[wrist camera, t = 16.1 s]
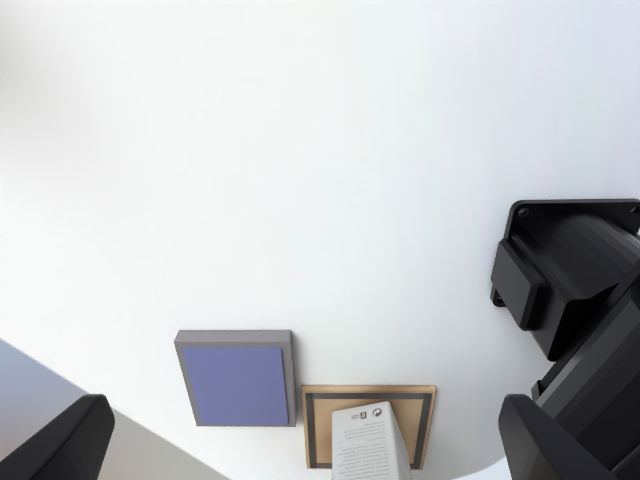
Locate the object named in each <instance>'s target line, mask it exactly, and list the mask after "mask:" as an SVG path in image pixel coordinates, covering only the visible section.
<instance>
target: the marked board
mask: <svg viewBox="0 0 640 480" xmlns="http://www.w3.org/2000/svg"><path fill="white" fill-rule="evenodd" d="M435 393H436V389H435V386H302V403H303V418H304V433H305V447H306V462H307V469H332V413H333V412H334V411H337V410H343V409H348V408H354V407H359V406H364V405H369V404H374V403H379V402H385V401H388V402H390V404H391V407H392V410H393V413H394V415H395V418H396V421H397V424H398V426H399V429H400V432H401V435H402V437H403V440H404V443H405V445H406V448H407V452H408V458H409V464H410V470H422V469H423V463H424V457H425V451H426V445H427V440H428V434H429V428H430V422H431V416H432V411H433V405H434V399H435Z"/></svg>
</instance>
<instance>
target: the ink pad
mask: <svg viewBox="0 0 640 480" xmlns="http://www.w3.org/2000/svg"><path fill="white" fill-rule="evenodd" d="M174 344H175V348H176V351H177V355H178V359H179V362H180V366H181V370H182V373H183V377H184V381H185V384H186V388H187V392H188V395H189V399H190V403H191V406H192V410H193V414H194V417H195V421H196V425H197V426H264V427H296V420H297V408H296V396H295V383H294V371H293V358H292V345H291V333H290V330H179V332H178V334H177V336H176V338H175V341H174Z"/></svg>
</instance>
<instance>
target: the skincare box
mask: <svg viewBox="0 0 640 480" xmlns="http://www.w3.org/2000/svg"><path fill="white" fill-rule="evenodd" d="M332 480H412V477H411V470H410V464H409V458H408V452H407V448H406V445H405V443H404V440H403V437H402V435H401V432H400V429H399V426H398V424H397V421H396V418H395V415H394V413H393V410H392V407H391V404H390V402H388V401H385V402H379V403H374V404H369V405H364V406H359V407H354V408H348V409H343V410H337V411H334V412H333V413H332Z"/></svg>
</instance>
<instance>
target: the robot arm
mask: <svg viewBox="0 0 640 480" xmlns="http://www.w3.org/2000/svg"><path fill="white" fill-rule="evenodd" d="M634 207H636V209H635V210H634V211H632V212H631V210H632V209H633V208H634ZM522 208H525V211H524V212H523V213H520V214H519V213H518V212H519V210H520V209H522ZM639 228H640V200H639V199H564V200H520V201H517V202H515V203H514V204H513V205H512V207H511V209H510V213H509V217H508V221H507V226H506V230H505V234H504V238H503V239H502V240H501V241H500V242H499V245H498V249H497V254H496V258H495V263H494V267H493V272H492V276H491V281H492V283H493V287H492V291H491V295H490V298H491V300H492V302H493V304H494V305H495V306H497V307H507V308H508V310H509V311H510V313H511V315H512V316H513V318H514V320H515V322H516V323H517V325H518V326H519V327H520V328H521V329H522V330H523V331H530V332H531V333H532V335H533V337H534V338H535V340H536V342H537V343H538V345H539V346H540V348H541V350H542V351H543V353H544V354H545V356H546V358H547V359H548V360H549V361H552V362H556V363H555V364H554V365H553V366H552V368H551V369H550V370H549V371H548V373H547V374H546V375H545V376H544V378H543V379H542V380H538V381H537V382H536V383H535V385H534V386H533V387H532V389H531V391H532V398H533V400H532V399H531V398H529V397H528V396H526V395H524V394H508V395H506V396H505V398H504V401H503V405H502V408H501V411H500V415H499V419H498V425H499V430H500V434H501V438H502V442H503V446H504V450H505V453H506V457H507V461H508V465H509V469H510V473H511V477H512V480H640V235H638V234H637V233H638V230H639ZM499 297H501V299H498V298H499ZM114 425H115V418H114V414H113V412H112V410H111V407H110V405H109V403H108V400H107V398H106V396H105V395H103V394H86V395H84V396H82V397H80V398H79V399H78V400H77V401H75V402H74V403H73V404H72V405H70V406H69V407H68V408H67V409H65V410H64V411H63V412H62V413H60V414H59V415H58V416H57V417H56V418H54V419H53V420H52V421H51V422H49V423H48V424H47V425H45V426H44V427H43V428H42V429H40V430H39V431H38V432H37V433H36V434H34V435H33V436H32V437H30V438H29V439H28V440H27V441H26V442H24V443H23V444H22V445H21V446H19V447H18V448H17V449H16V450H14V451H13V452H12V453H10V454H9V455H8V456H7V457H5V458H4V459H3V460H2V461H1V462H0V480H97V479H98V476H99V473H100V470H101V466H102V463H103V460H104V457H105V454H106V451H107V448H108V444H109V442H110V438H111V435H112V432H113V429H114Z"/></svg>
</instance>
